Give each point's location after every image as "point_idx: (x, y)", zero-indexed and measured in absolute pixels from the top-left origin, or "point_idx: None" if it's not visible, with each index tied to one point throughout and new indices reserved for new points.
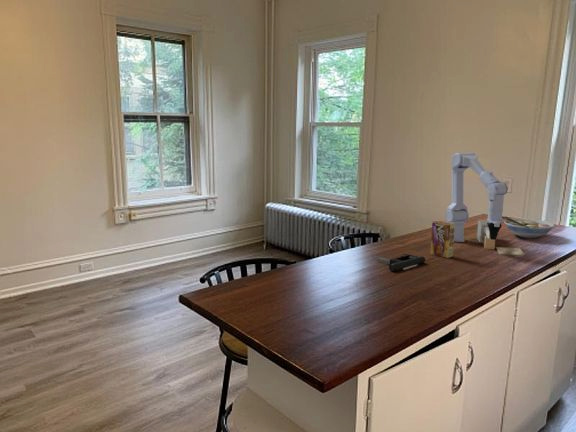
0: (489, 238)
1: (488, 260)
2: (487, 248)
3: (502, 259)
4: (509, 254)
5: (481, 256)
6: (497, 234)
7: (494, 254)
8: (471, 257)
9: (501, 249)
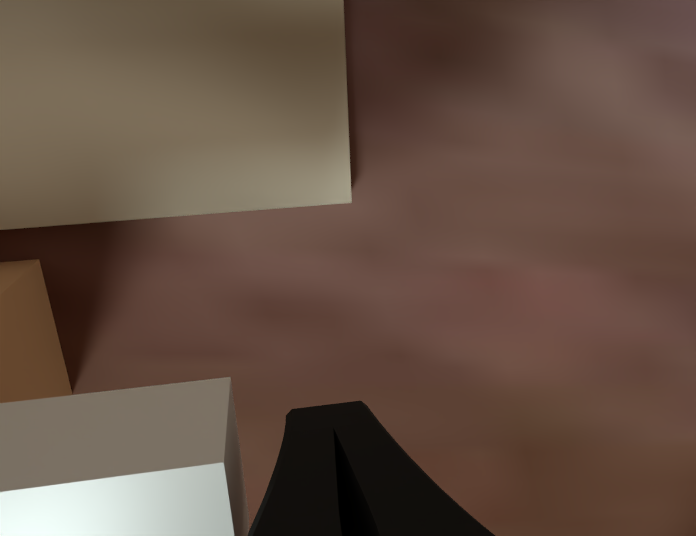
0: (248, 515)
1: (691, 354)
2: (62, 366)
3: (630, 182)
4: (341, 37)
5: (525, 428)
6: (425, 473)
7: (381, 274)
8: (587, 520)
9: (82, 153)
